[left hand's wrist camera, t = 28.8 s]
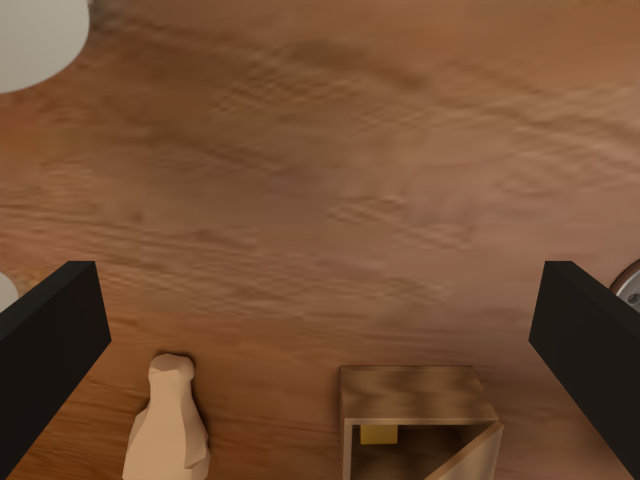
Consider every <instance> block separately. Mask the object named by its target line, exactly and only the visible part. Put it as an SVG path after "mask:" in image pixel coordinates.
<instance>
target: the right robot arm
mask: <svg viewBox="0 0 640 480" xmlns="http://www.w3.org/2000/svg"><path fill="white" fill-rule="evenodd" d="M610 291H611V292H613V293H614V294H615V295H617V296H618V297H619V298H621V299H622V300H623V301H625V302H626V303H627V304H628V305H630V306H631V307H632V308H634V309H635V310H636V311H638V312H639V313H640V261H638V262H636V263H635V264H634V265H632V266H631V267H630V268H629V269H627V270H626V271H625V272H624V273H623V274H622V275H621V276H620V277H619V278H618V279H617V280H616V282H615V283H614V284H613V286H612V287H611V289H610Z"/></svg>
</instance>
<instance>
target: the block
mask: <svg viewBox="0 0 640 480" xmlns="http://www.w3.org/2000/svg"><path fill="white" fill-rule="evenodd" d="M359 434H360V443H361V444H394V443H397V435H398V425H359Z"/></svg>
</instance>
